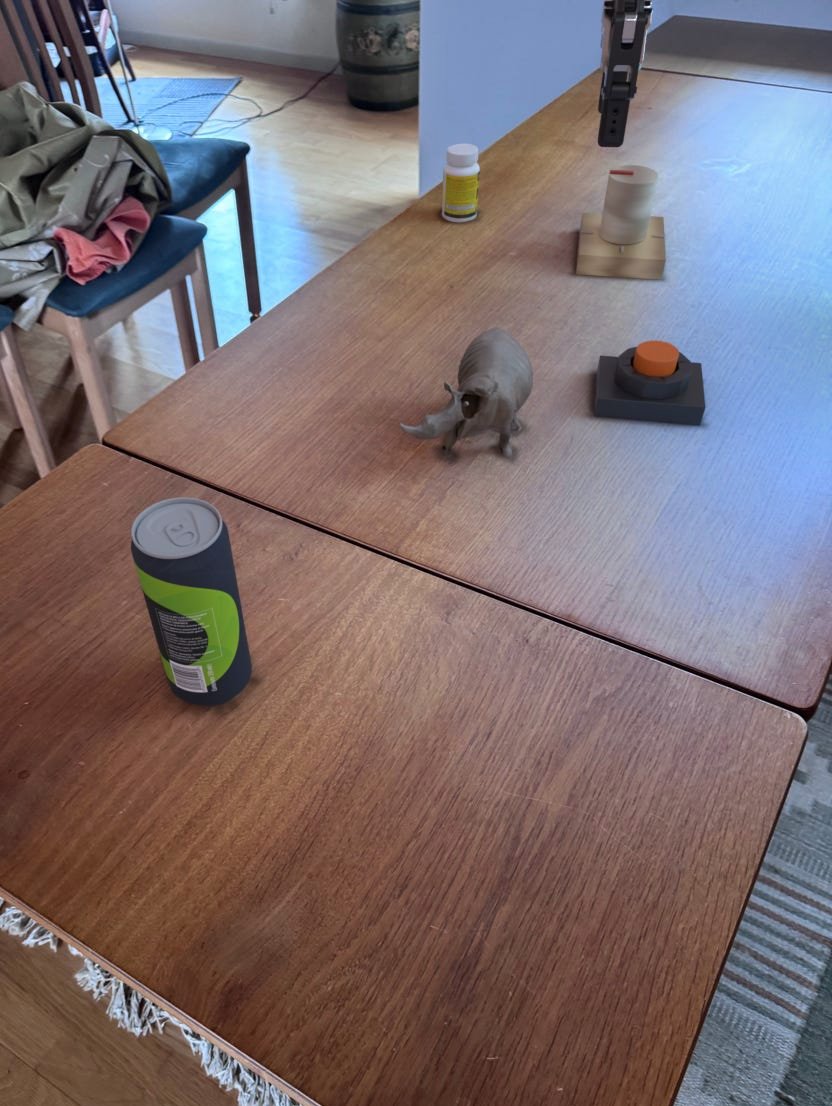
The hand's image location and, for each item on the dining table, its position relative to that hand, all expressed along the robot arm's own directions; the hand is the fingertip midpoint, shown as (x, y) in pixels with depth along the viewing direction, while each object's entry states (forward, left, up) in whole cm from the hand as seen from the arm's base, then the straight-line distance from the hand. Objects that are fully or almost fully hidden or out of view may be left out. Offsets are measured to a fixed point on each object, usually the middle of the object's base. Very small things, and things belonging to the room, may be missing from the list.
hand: (609, 128), depth 83 cm
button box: (-7, +10, -21) cm, 25 cm away
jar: (-4, -22, -19) cm, 29 cm away
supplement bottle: (+17, -31, -22) cm, 41 cm away
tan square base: (-4, -22, -22) cm, 31 cm away
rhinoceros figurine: (+9, +20, -22) cm, 31 cm away
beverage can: (+25, +53, -22) cm, 62 cm away
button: (-7, +10, -18) cm, 22 cm away
